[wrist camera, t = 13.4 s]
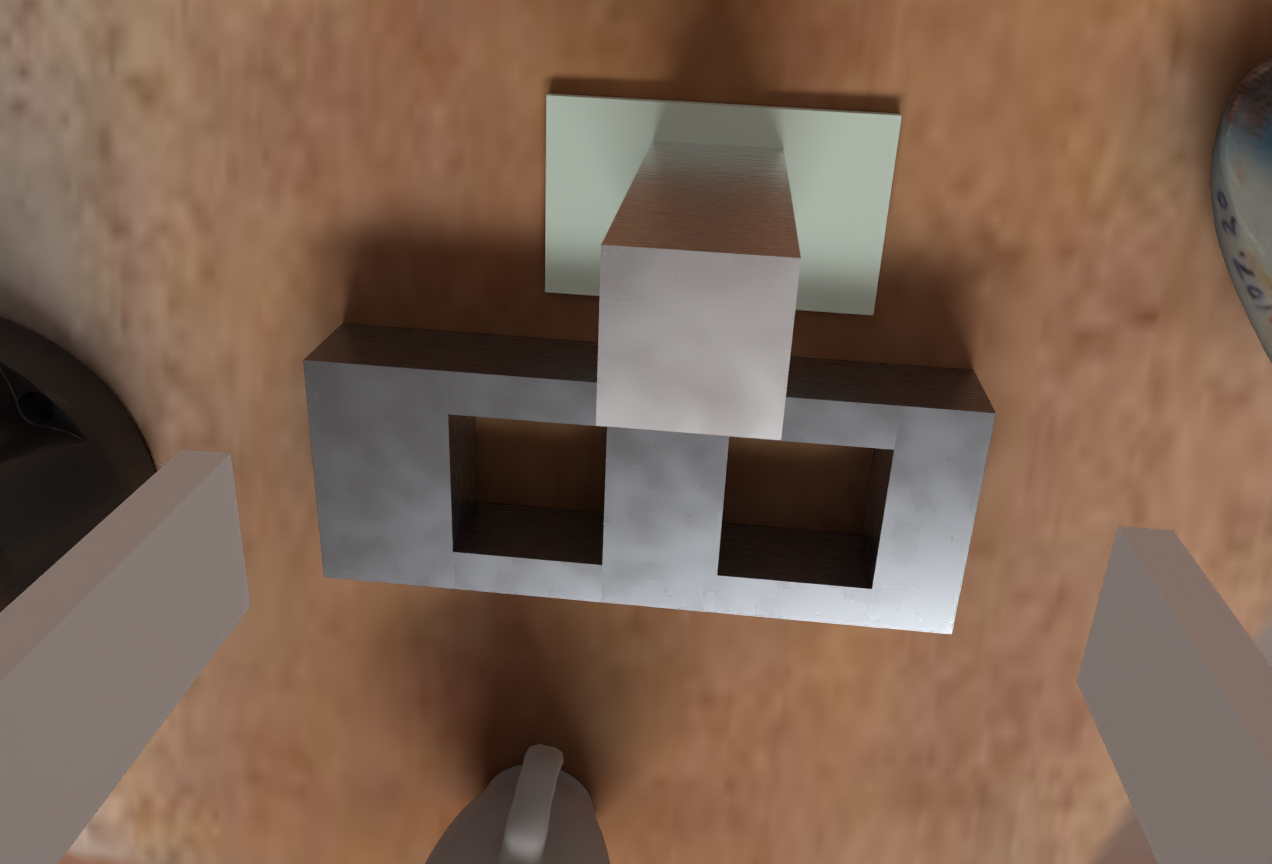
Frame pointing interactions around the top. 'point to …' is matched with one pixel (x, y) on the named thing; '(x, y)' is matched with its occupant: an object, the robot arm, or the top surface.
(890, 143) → the green pad
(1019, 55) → the top surface
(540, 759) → the mug
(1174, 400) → the top surface
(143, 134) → the top surface
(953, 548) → the grey hollow block
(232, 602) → the robot arm
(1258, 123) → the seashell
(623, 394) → the steel peg
